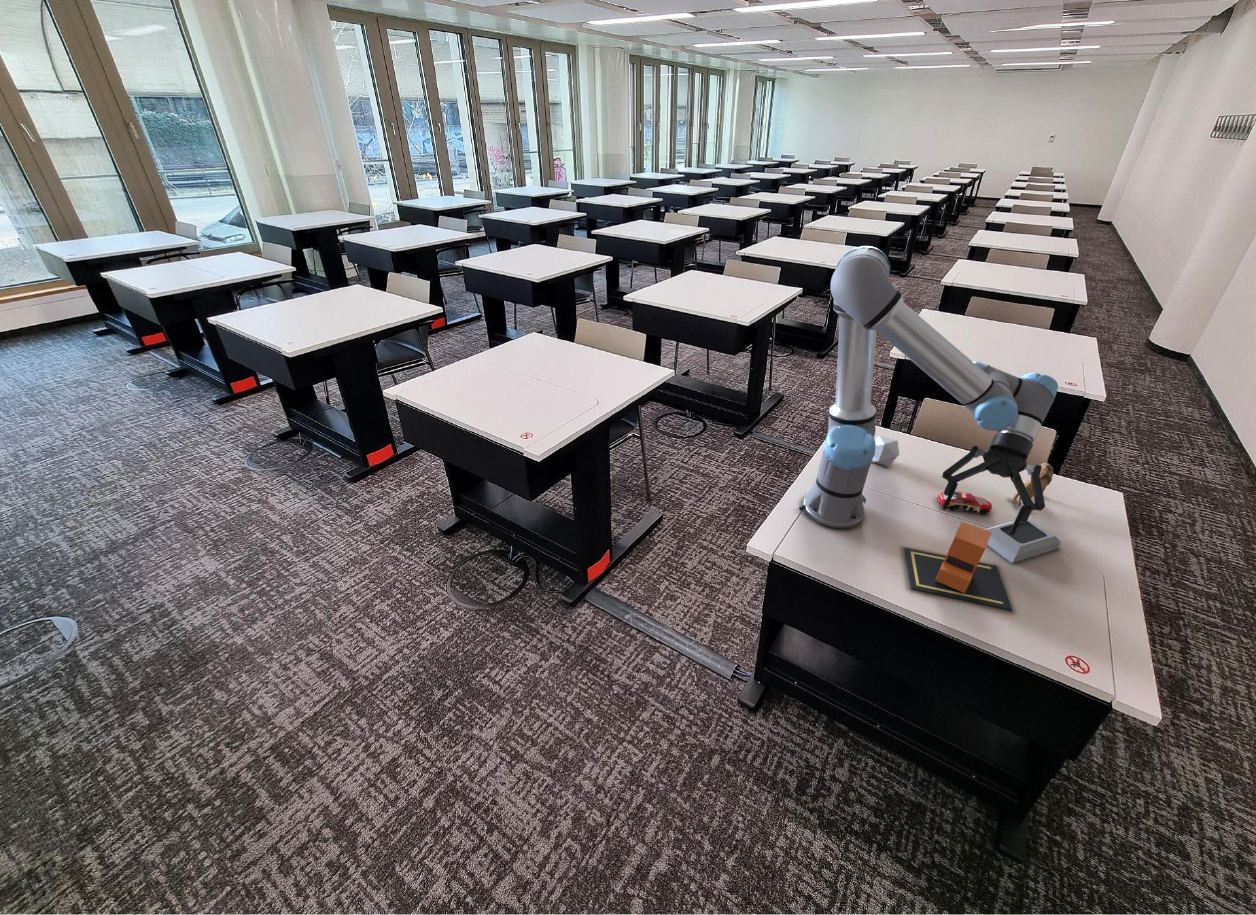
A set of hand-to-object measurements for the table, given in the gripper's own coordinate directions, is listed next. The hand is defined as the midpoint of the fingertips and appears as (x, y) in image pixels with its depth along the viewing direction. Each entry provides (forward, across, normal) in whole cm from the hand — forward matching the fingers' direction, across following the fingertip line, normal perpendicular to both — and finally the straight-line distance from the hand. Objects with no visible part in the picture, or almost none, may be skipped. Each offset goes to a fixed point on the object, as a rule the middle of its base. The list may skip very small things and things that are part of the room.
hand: (976, 521), depth 120 cm
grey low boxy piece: (-3, -10, -21) cm, 23 cm away
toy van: (+13, 0, -4) cm, 14 cm away
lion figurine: (-20, -9, -38) cm, 44 cm away
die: (-14, +29, -32) cm, 45 cm away
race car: (-8, +4, -26) cm, 28 cm away
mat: (+13, -1, -4) cm, 14 cm away
